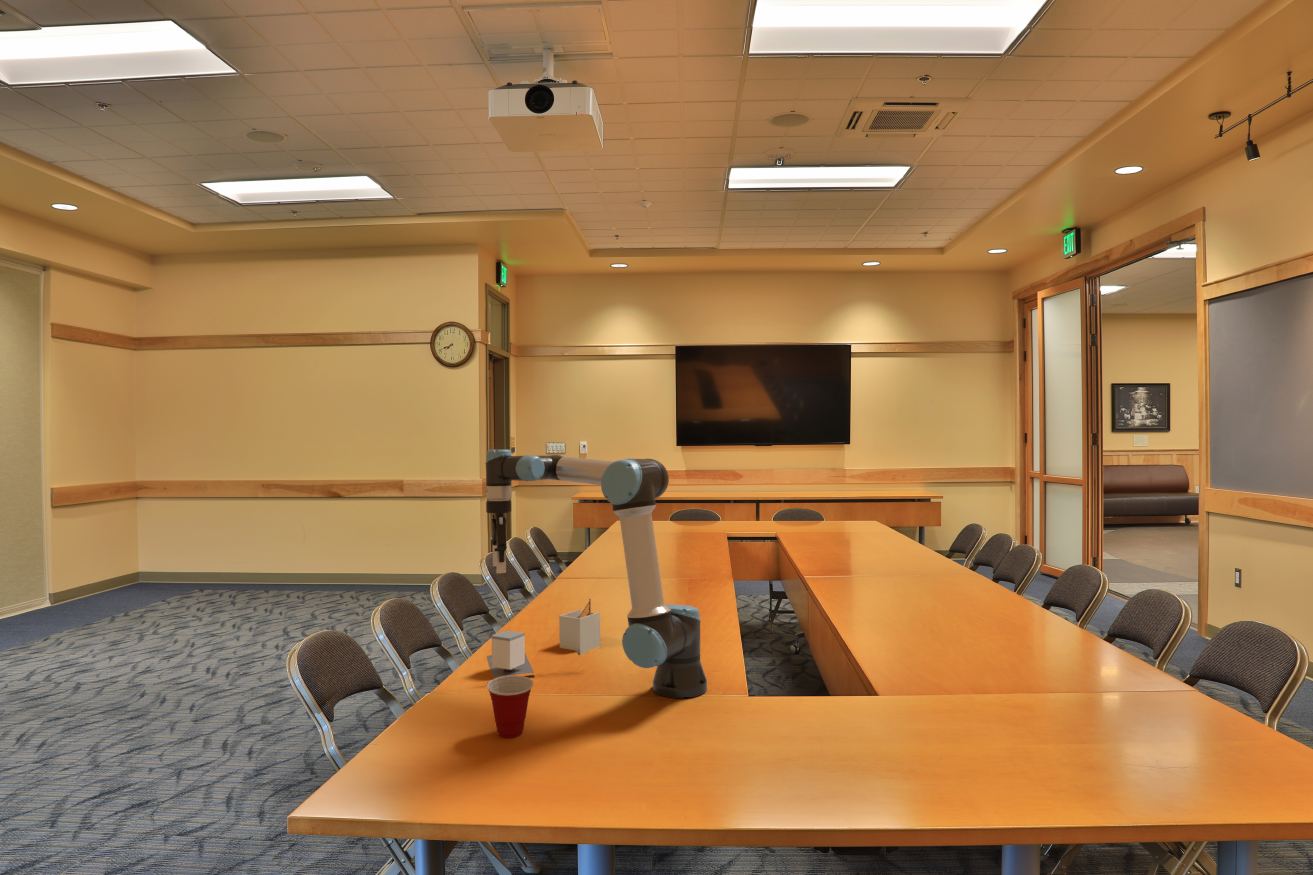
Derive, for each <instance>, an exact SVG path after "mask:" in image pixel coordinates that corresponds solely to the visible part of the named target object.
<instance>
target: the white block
mask: <svg viewBox="0 0 1313 875" xmlns="http://www.w3.org/2000/svg"><path fill="white" fill-rule="evenodd" d="M525 635H526V634H525V632H521V631H515V630H514V631H512V630H504V631H501V632H498V633H496V634H493V635H491V655H492V667H497V668H503V669H509V670H510V669H513V668H515V667H517V666H519V665H522V664H524V663H525V654H526V653H525V652H526V651H525V649H526V648H525V644H526V642H525Z"/></svg>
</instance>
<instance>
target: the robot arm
mask: <svg viewBox="0 0 1313 875" xmlns="http://www.w3.org/2000/svg"><path fill="white" fill-rule="evenodd" d="M485 456H486V457H485V478H486V479H485V481H486V484H485V485H486V486H485V487H486V488H485V489H484V490H483V491H484V493H486V495H485V496H486V497H485V499H486V502H485V512H486V513H487V514H492V518H491V528H492V530H491V531H492V535H491V544H492V567H496V570H495V572H496V574H506V573H507V549H508V546H507V533H506V531H507V530H506V528H507V527H506V525H507V518H506V517H505V516H504V514H508V513H511V512H512V500H510V499H512V481H517V482H518V481H519V482H521V481H522V482H536V481H540V480H541V481H543V480H554V481H563V482H572V483H579V484H587V485H596V486H600V488H601V492H602V495H603V497H604V499H606V500H607V502H609V503H610V504H611V507H612V512H613V514H615V515H616V516H618V518H619V523H620V531H621V538H622V545H623V551H624V552H623V553H624V559H625V568H626V574H627V581H628V582H627V583H628V587H629V590H628V591H629V596H630V604H631V609H630V611H629V612H628V613H627V624H628V627H627V628H626V629H625V630H624V631H625V632H624V633H623V635H622V638H621V641H622V642H621V643H622V644H621V645H622V648H623V651H624V654H625V655H626V657H627V659H628V660H629V661H630V662H632V663H633V664H634V665H635V666H637V667H639V668H643V669H651V668H654V667H656V668H655V669H656V670H655V672H654V675H653V679H652V690H653V692H654V693H655V694H657V695H659V696H662V697H667V698H671V697H672V698H673V699H685V698H684V697H689V698H694V697H698V696H701V695H703V694H706V692H707V690H708V681H707V680H708V679H707V677H706V673H705V671H704V667H703V664H702V661H701V614H700V610H699V609H698V608H697V607H695V606H692V605H687V604H670V603H669V604H666V603H665V600H664V592H663V585H662V580H661V572H660V565H659V559H658V558H659V557H658V551H657V550H658V549H657V543H656V537H655V531H654V522H653V516H652V513H653V511H654V510H655V509H656V507H657V504H656V503H657V502H656V499H658V498H659V497H661V496H663V495H664V493H666V490H667V489H668V487H669V481H670V477H669V473H668V470H667V468H666V467H665V466H664V464H662V462H660V461H658V459H657V460H656V459H652V458H623V459H618V460H615V461H614V460H602V459H592V458H584V457H583V458H582V457H571V456H564V455H560V454H552V455H531V454H530V455H528V454H527V455H512V450H510V449H488V450H487V451H486V455H485Z"/></svg>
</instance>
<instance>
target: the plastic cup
mask: <svg viewBox="0 0 1313 875" xmlns="http://www.w3.org/2000/svg"><path fill="white" fill-rule="evenodd" d="M524 676H525V675H519V674H516V675H507V676H498V677H494V678H493V680H492V679H491V680H490V681H489V682H488V683H487V684H486V687H487V691H488V692H489V696H490V699H491V704H492V709H493V710H492V711H493V716H494V722H495V724H496V725H495V726H496V732H497V735H498V737H500V738H502V739H511V738H512V739H513V738H516V737H519V736H521V735H522V734H523V731H524V729H525V728H524V727H525V721H526V716H527V710H528V706H529V705H528V704H529V700H530V699H529V698H530V694H531V690H532V688H533V687H534V680H532V678H528V677H524Z"/></svg>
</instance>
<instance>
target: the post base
mask: <svg viewBox="0 0 1313 875" xmlns="http://www.w3.org/2000/svg"><path fill="white" fill-rule="evenodd" d="M486 659H487V663H488V666H489V670H490V673H491V677H492V678H493V679H494V678H498V677H502V676H509V675H522V674H528V675H523V676H524V677H528V678H530V679H533V678H535V674H534V673H535V672H534V669H533V668H532V665H531V662H530V661H529V659H528V657H527V655H526V653H525V663H524V664H522V665H519V666H517V667H515V668H513V669H510V670H509V669H503V668H497V667H492V654H491V655H486ZM529 674H530V675H529ZM492 678H491V680H493V679H492Z"/></svg>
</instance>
